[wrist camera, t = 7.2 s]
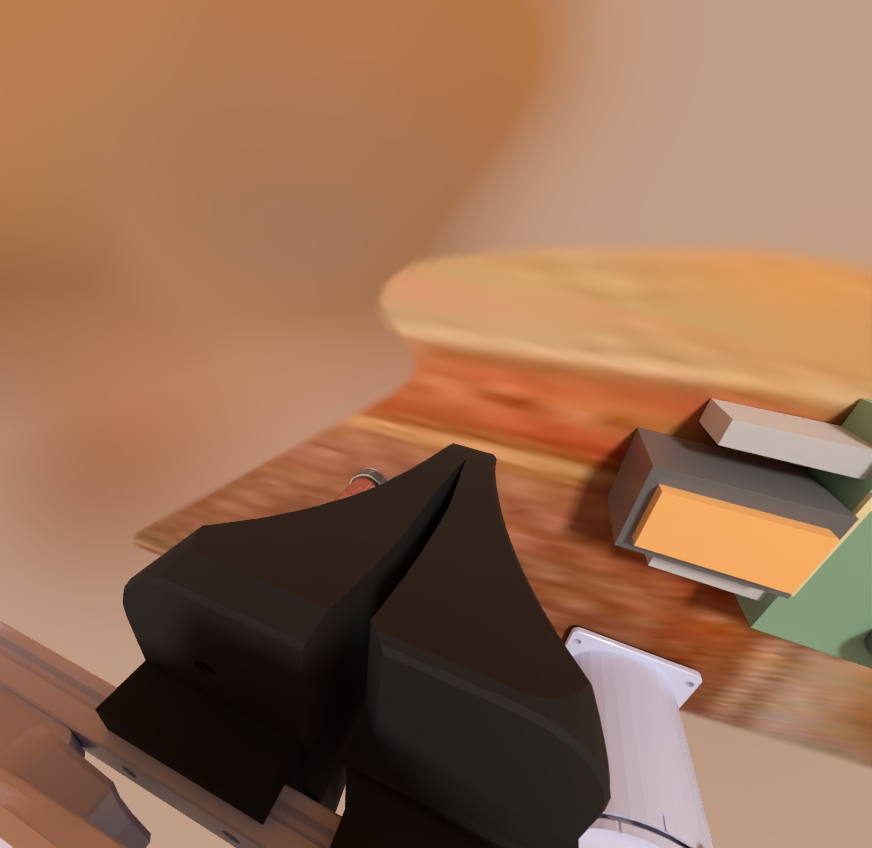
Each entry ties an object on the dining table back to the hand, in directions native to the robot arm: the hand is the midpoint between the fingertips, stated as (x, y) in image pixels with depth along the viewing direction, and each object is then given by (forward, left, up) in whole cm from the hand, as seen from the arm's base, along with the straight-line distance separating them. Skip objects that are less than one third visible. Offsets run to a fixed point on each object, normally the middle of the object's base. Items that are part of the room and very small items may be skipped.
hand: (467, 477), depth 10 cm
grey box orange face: (-3, -10, -10) cm, 15 cm away
